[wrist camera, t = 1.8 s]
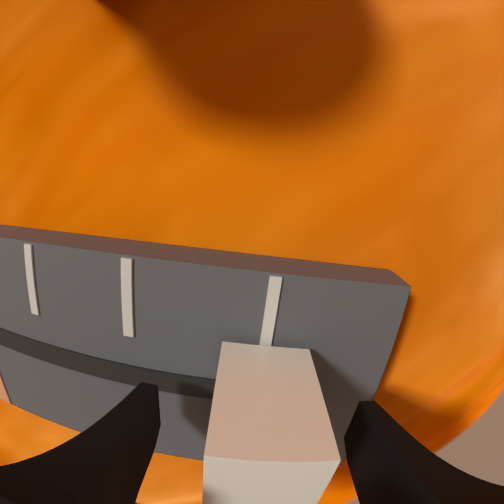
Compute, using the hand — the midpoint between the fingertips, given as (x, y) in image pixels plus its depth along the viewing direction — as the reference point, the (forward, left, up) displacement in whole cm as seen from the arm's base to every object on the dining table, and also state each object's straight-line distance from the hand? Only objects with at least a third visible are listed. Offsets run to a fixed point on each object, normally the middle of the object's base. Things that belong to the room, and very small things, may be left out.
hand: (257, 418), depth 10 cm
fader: (0, 0, -1) cm, 1 cm away
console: (0, +8, -3) cm, 9 cm away
